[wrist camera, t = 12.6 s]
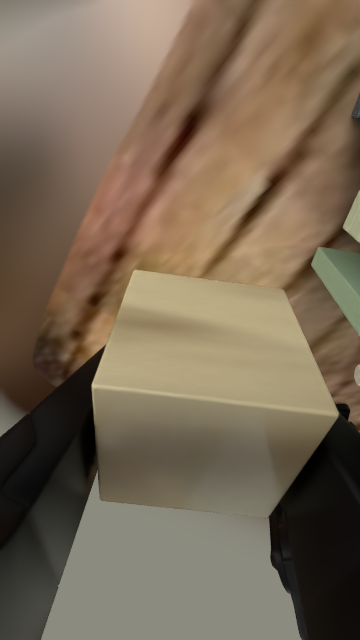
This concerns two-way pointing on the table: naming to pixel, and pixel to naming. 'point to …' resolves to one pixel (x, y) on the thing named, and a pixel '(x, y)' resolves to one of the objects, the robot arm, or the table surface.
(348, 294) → the drawer
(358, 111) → the cabinet
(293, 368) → the block
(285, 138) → the table surface
